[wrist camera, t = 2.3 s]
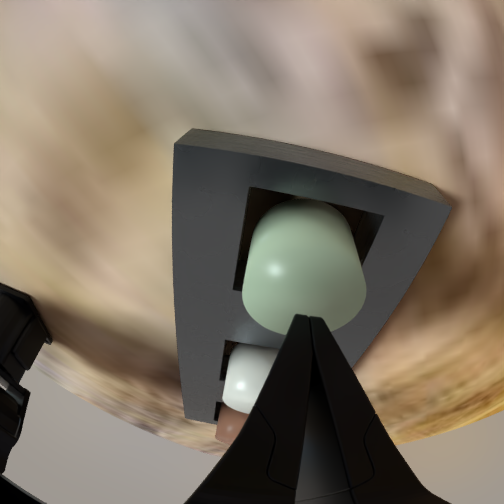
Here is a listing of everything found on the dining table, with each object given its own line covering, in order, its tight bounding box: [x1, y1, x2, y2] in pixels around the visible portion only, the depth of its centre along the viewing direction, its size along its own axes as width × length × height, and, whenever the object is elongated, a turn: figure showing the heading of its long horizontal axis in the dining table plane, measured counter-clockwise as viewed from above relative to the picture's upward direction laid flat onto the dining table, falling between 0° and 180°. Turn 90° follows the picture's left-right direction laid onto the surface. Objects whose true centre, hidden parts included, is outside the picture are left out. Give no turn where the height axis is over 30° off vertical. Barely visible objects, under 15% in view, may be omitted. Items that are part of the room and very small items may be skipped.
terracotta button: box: [215, 402, 249, 445], centre depth 21 cm, size 4×4×3 cm
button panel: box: [172, 129, 452, 425], centre depth 17 cm, size 10×24×2 cm, turn 171°
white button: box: [222, 342, 279, 414], centre depth 16 cm, size 4×4×3 cm
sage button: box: [242, 199, 366, 335], centre depth 10 cm, size 4×4×3 cm
